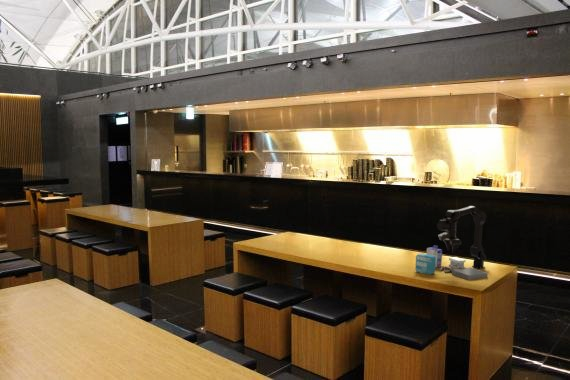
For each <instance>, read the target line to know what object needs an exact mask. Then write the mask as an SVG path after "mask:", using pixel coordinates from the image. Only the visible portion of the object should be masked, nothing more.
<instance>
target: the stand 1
mask: <svg viewBox="0 0 570 380" xmlns="http://www.w3.org/2000/svg"><path fill="white" fill-rule="evenodd" d="M444 267H445V269H444V270H445V271H446V270H450V269H453V270H454V269H455V268H452V267H449V265H445V266H444Z"/></svg>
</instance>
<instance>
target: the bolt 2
mask: <svg viewBox="0 0 570 380" xmlns="http://www.w3.org/2000/svg"><path fill="white" fill-rule="evenodd" d="M452 270H453V269H450V270H446V269H445V270H443V271H444V273H445V274H447V273H452Z"/></svg>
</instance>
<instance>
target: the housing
mask: <svg viewBox="0 0 570 380" xmlns="http://www.w3.org/2000/svg"><path fill="white" fill-rule="evenodd" d="M448 260H449V261H450V262H449V264H448V266H449V267H452V268H455V269H461V268H466V266H465V263H466V259H464V258H461V257H456V256H453V257H448Z"/></svg>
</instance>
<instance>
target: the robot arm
mask: <svg viewBox="0 0 570 380" xmlns="http://www.w3.org/2000/svg"><path fill="white" fill-rule="evenodd" d="M444 214H445V215H443V218H442V219H439V221H437V222H438V223H437V224H436V228H437V230H438V231H445V232H442V233H440V234H438V235H437V236H438V238H439V240H440V241H441V242H442V241H443V242H444V243H445V246H446V250H447V251H450V249H451V251H452V252H451V253H452V254H455V253H456V251H457V249H458V248H459V247H460V245H462V240H461V239H459V238H458V237H457V235H456V234H457V233H458V231H457V223H459V220H458V219H460V217H461V216H465V215H469V214H470V215H471V216H472V221H473V222H474V234H473V235H474V237H473V244H472V246H470V247H469V248H470V250H469V252H470V255H471V259H473V265H471V268H474V269H477V270H479V269H486V267H485V266H484V264H485V263H484V262H485V261H486V260H487V258H488V257H487V255H486V254H485V250H484V249H485V248H484V247H483V245H482V244H483V241H482V240H483V231H484V230H483V229H484V228H483V227H484V224H485V222H486V221H487V220H486V219H487V213H486V212H484V211H482V210H481V209H480V208H478V207H476V206H474V205H469V206H466V207H463V208H460V209H448V210H447V211H446V213H444Z"/></svg>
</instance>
